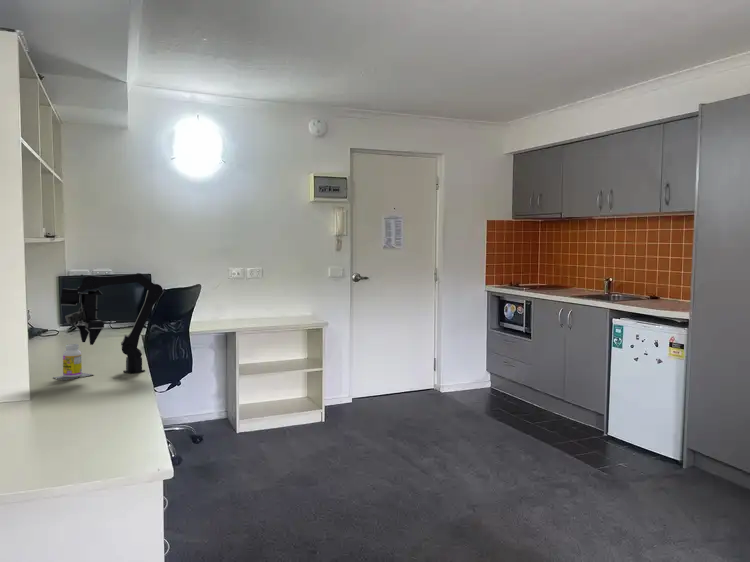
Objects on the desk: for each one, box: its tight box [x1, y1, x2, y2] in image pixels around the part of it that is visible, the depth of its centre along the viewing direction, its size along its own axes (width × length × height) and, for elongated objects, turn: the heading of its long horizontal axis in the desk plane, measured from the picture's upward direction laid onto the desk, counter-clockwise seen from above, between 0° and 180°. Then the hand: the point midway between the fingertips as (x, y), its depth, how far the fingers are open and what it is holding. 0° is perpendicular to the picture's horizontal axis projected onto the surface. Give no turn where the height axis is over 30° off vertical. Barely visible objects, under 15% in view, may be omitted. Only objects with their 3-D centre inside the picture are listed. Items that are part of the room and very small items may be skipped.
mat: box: [52, 372, 94, 381], centre depth 227 cm, size 8×12×1 cm, turn 149°
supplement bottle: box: [62, 343, 83, 378], centre depth 226 cm, size 7×7×13 cm
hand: (87, 343), depth 230 cm, fingers open, 9 cm apart
